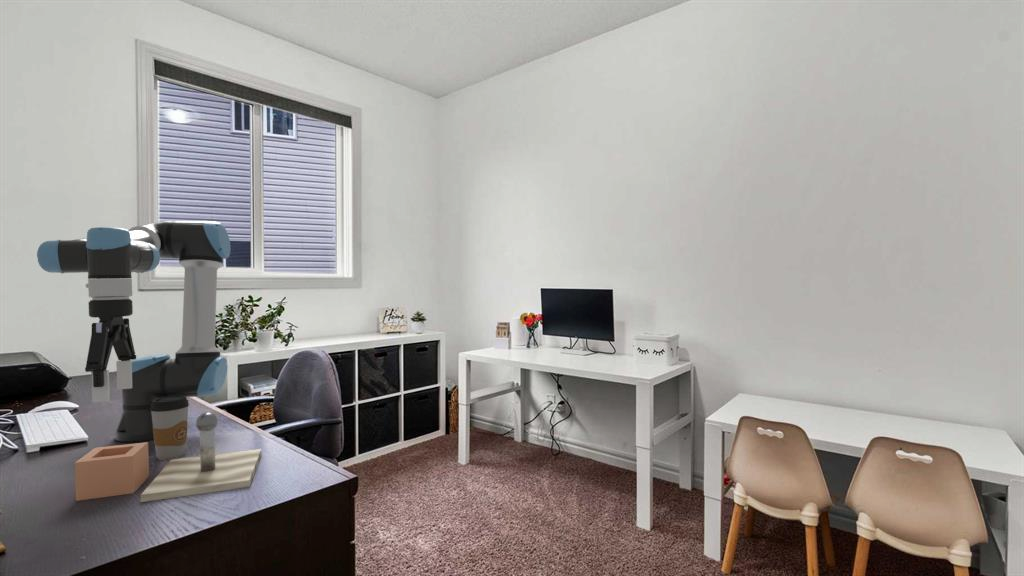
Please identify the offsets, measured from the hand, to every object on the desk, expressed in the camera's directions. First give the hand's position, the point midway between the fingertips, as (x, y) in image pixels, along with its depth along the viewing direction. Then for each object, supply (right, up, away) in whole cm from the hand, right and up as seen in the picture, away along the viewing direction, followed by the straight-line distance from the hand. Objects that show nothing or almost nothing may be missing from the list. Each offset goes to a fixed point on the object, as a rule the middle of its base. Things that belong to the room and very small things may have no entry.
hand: (113, 395), depth 110 cm
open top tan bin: (0, -21, 0) cm, 21 cm away
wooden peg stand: (+17, -20, +7) cm, 27 cm away
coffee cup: (-1, -20, +20) cm, 29 cm away
